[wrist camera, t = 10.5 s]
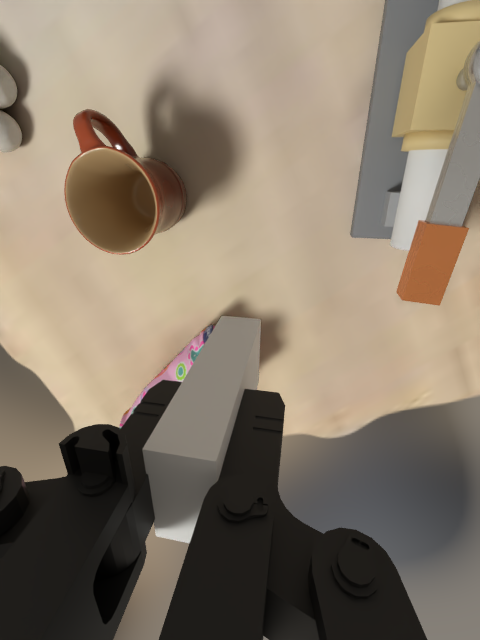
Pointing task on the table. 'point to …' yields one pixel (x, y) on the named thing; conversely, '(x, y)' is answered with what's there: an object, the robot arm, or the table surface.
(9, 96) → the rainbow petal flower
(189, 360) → the pencil case
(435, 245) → the valve lever
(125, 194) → the mug
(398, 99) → the valve fixture
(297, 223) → the table surface
